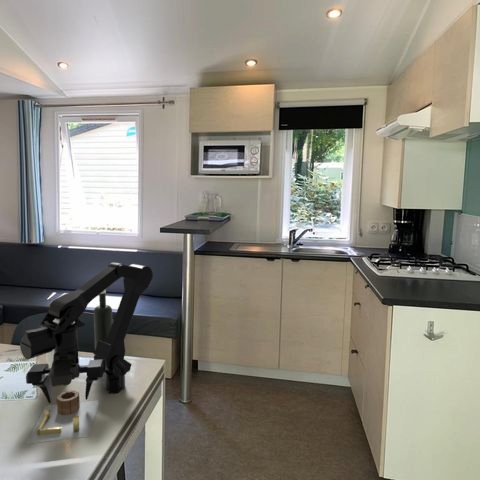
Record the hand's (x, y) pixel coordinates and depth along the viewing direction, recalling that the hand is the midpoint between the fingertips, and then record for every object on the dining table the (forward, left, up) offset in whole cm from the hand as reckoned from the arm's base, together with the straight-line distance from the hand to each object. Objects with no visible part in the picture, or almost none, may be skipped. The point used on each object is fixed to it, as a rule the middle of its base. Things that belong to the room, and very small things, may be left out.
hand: (68, 400), depth 101 cm
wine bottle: (-24, +6, -4) cm, 25 cm away
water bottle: (-18, -7, -4) cm, 20 cm away
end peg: (+10, +4, -3) cm, 11 cm away
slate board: (+5, 0, -3) cm, 6 cm away
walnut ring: (0, 0, -2) cm, 3 cm away
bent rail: (+6, -2, -2) cm, 7 cm away
